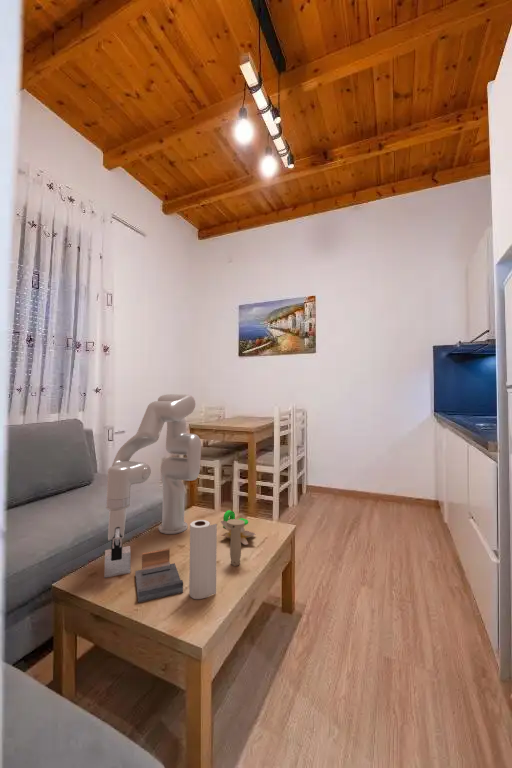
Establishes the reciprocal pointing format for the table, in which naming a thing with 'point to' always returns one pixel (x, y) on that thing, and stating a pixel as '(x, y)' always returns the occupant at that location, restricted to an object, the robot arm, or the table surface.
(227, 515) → the mechanical part
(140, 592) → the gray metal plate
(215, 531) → the paper towel roll
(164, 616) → the table surface
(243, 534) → the decorative flower
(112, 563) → the block
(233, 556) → the handle
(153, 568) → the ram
